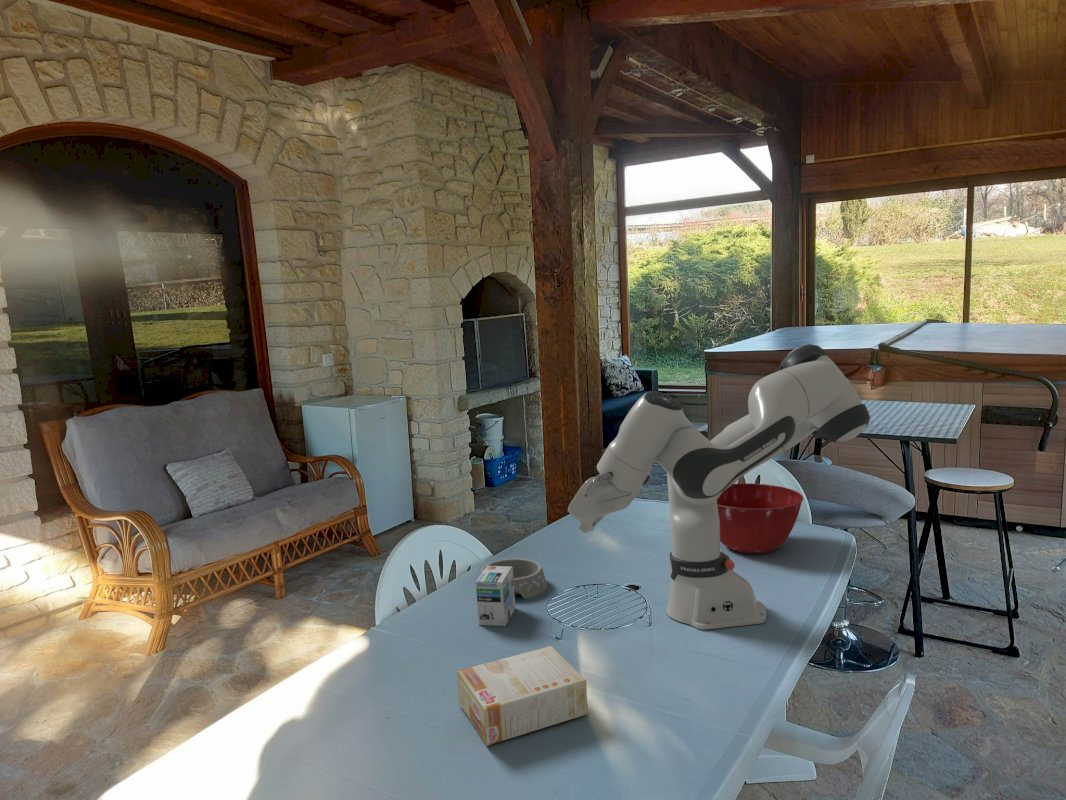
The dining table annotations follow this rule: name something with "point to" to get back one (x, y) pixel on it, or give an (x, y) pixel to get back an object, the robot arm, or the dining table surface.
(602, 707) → the dining table surface
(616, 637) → the dining table surface
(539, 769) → the dining table surface
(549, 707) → the coffeecake box
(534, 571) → the dog bowl
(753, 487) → the mixing bowl
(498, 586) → the light bulb box
